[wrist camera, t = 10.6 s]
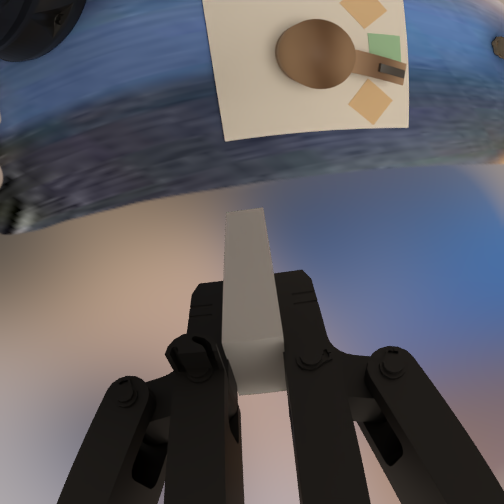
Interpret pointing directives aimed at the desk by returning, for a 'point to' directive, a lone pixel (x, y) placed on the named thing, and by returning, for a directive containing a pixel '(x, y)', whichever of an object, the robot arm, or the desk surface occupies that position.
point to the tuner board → (289, 91)
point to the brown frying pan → (329, 56)
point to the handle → (499, 46)
